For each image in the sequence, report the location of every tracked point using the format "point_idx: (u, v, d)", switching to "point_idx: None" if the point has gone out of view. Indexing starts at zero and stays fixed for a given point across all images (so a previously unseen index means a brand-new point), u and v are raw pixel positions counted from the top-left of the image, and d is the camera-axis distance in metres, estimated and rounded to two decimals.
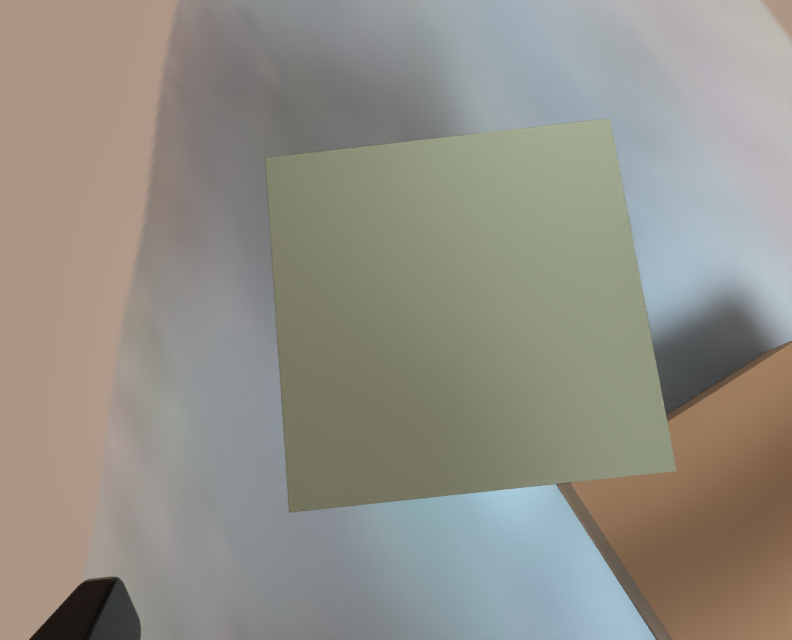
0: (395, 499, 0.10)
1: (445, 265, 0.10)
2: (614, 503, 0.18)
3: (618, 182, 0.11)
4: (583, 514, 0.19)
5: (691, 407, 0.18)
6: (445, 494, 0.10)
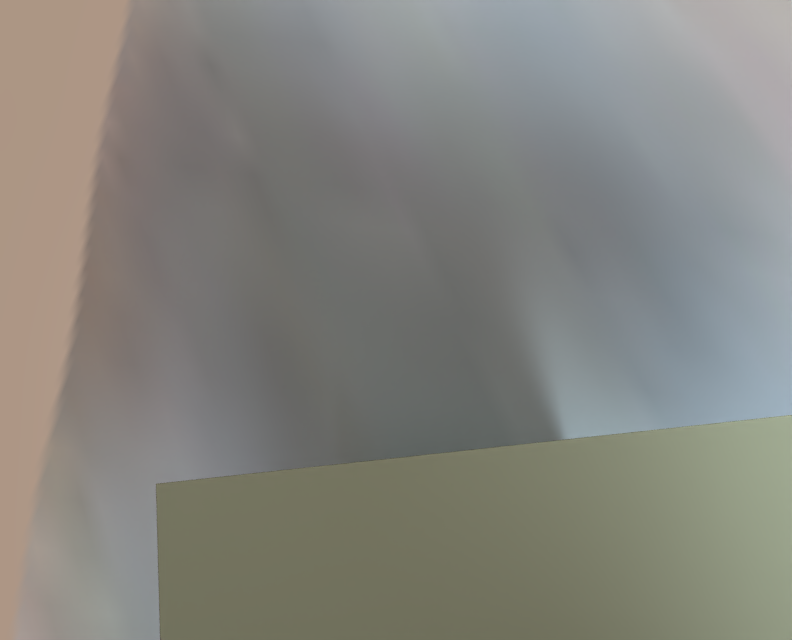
0: None
1: None
2: None
3: None
4: None
5: None
6: None
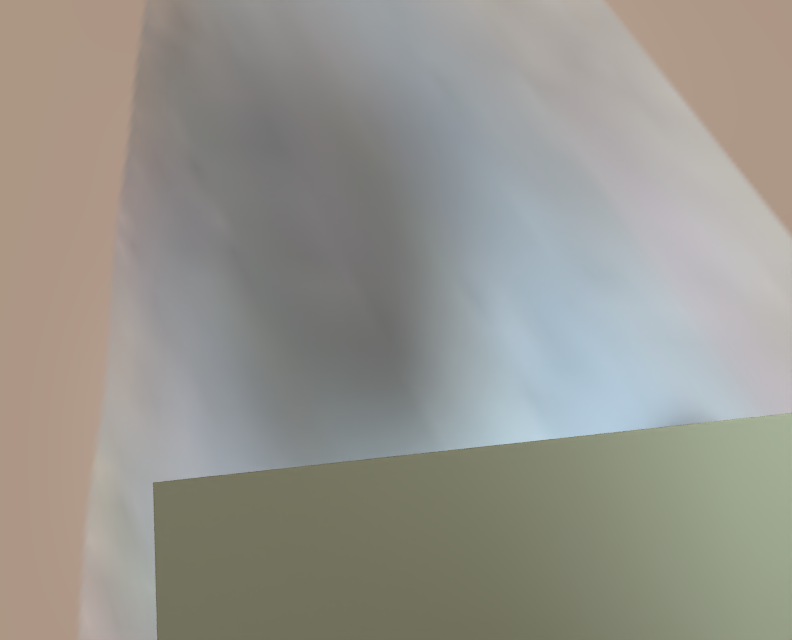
0: None
1: None
2: None
3: None
4: None
5: None
6: None
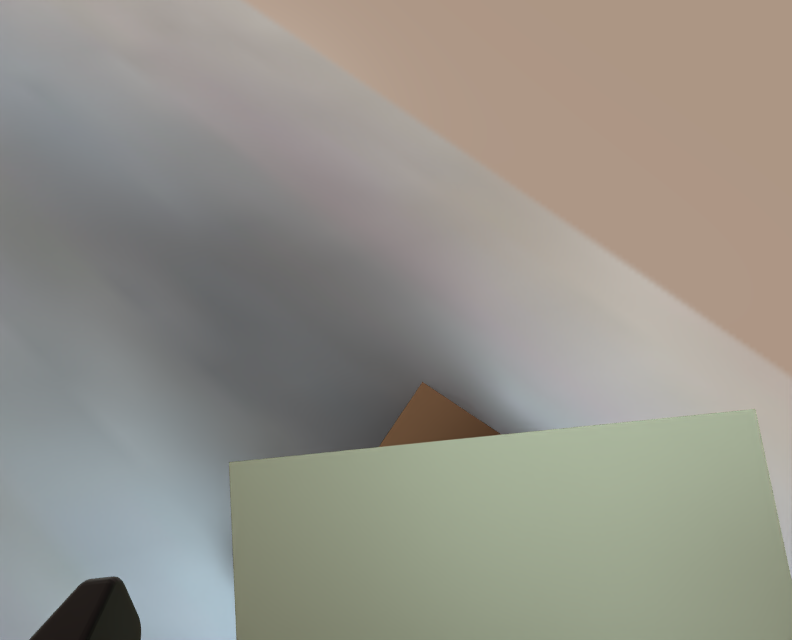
0: None
1: None
2: None
3: (769, 512, 0.07)
4: None
5: None
6: None
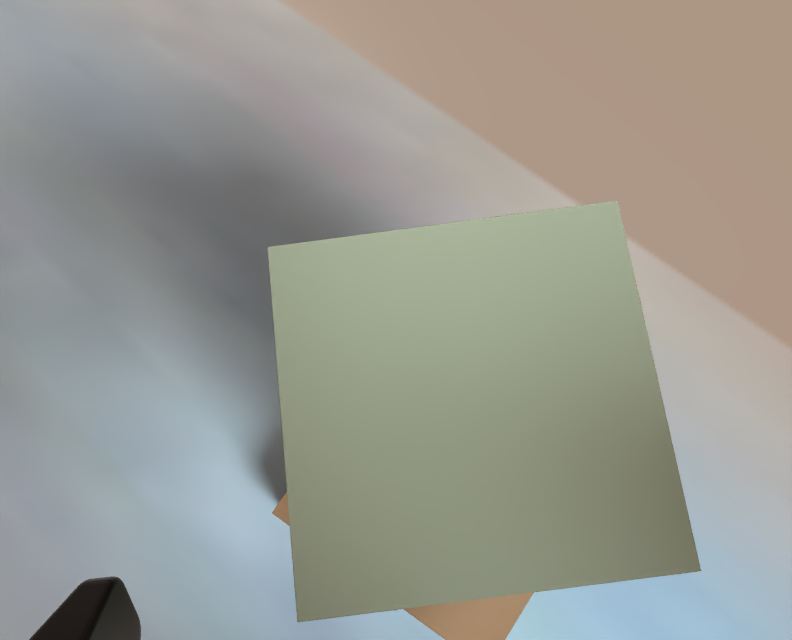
0: (408, 606, 0.09)
1: (453, 355, 0.10)
2: None
3: (629, 267, 0.10)
4: None
5: None
6: (460, 600, 0.09)
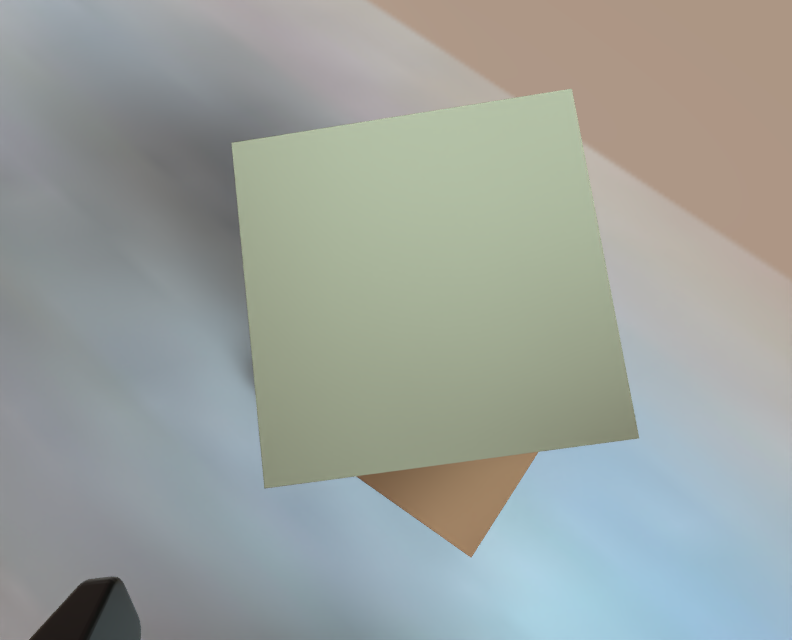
0: (365, 473, 0.10)
1: (410, 243, 0.10)
2: None
3: (581, 154, 0.11)
4: None
5: None
6: (413, 467, 0.10)
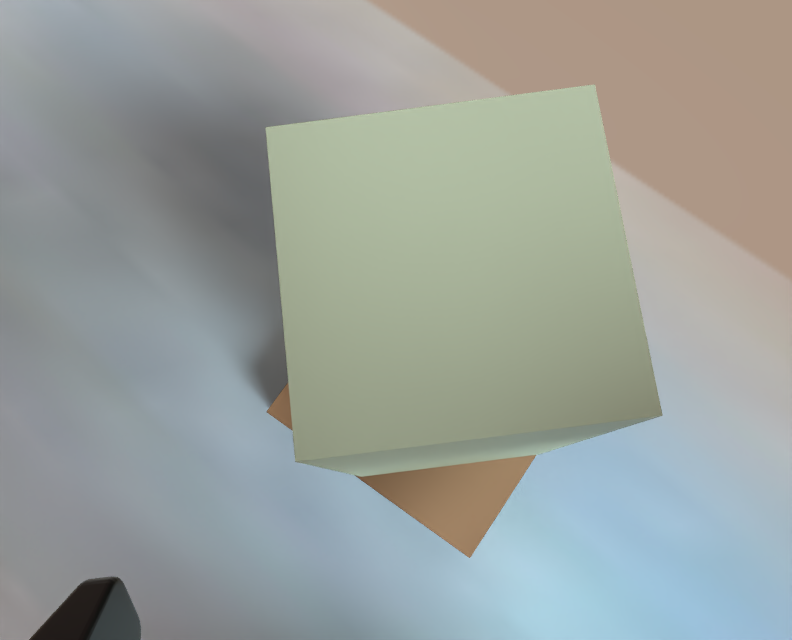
0: (396, 447, 0.10)
1: (440, 226, 0.11)
2: None
3: (603, 146, 0.11)
4: None
5: None
6: (443, 441, 0.10)
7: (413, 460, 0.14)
